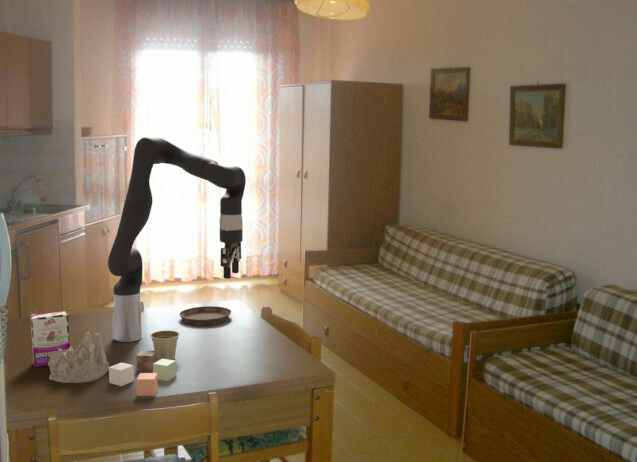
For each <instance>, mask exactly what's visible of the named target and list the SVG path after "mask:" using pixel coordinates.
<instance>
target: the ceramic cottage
mask: <svg viewBox="0 0 637 462" xmlns="http://www.w3.org/2000/svg"><path fill="white" fill-rule="evenodd" d="M91 337H92V335H91V333H90V331H88V332H87V331H86V332H85V335H84V339H82V340H81V343H80V344H79V345H78V347H77V349H76V350H75V349H74V348H73V346H70V348H69V349H68V350H67V351H66V352H65V353H63V351H62V350H63V349H58V354H56V353H52V354H51V356H50V359H49V362H48V366H47V367H49V372H50V373H49V377H48V379H49V381H54V382H58V383H64V384H67V383H68V384H71V383H73V384H79V383H89V382H93V381H96V380H98V379H101V378H102V377H103V376H104V375H105V374H106V373H109V367H111V366H110V362H109V361H108V360H107V355H106V353H105V349H104V347H103V346H104V345H103V344H104V343H103V339H102V336H101V333H100V332H95V333H94V339H92V338H91Z"/></svg>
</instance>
